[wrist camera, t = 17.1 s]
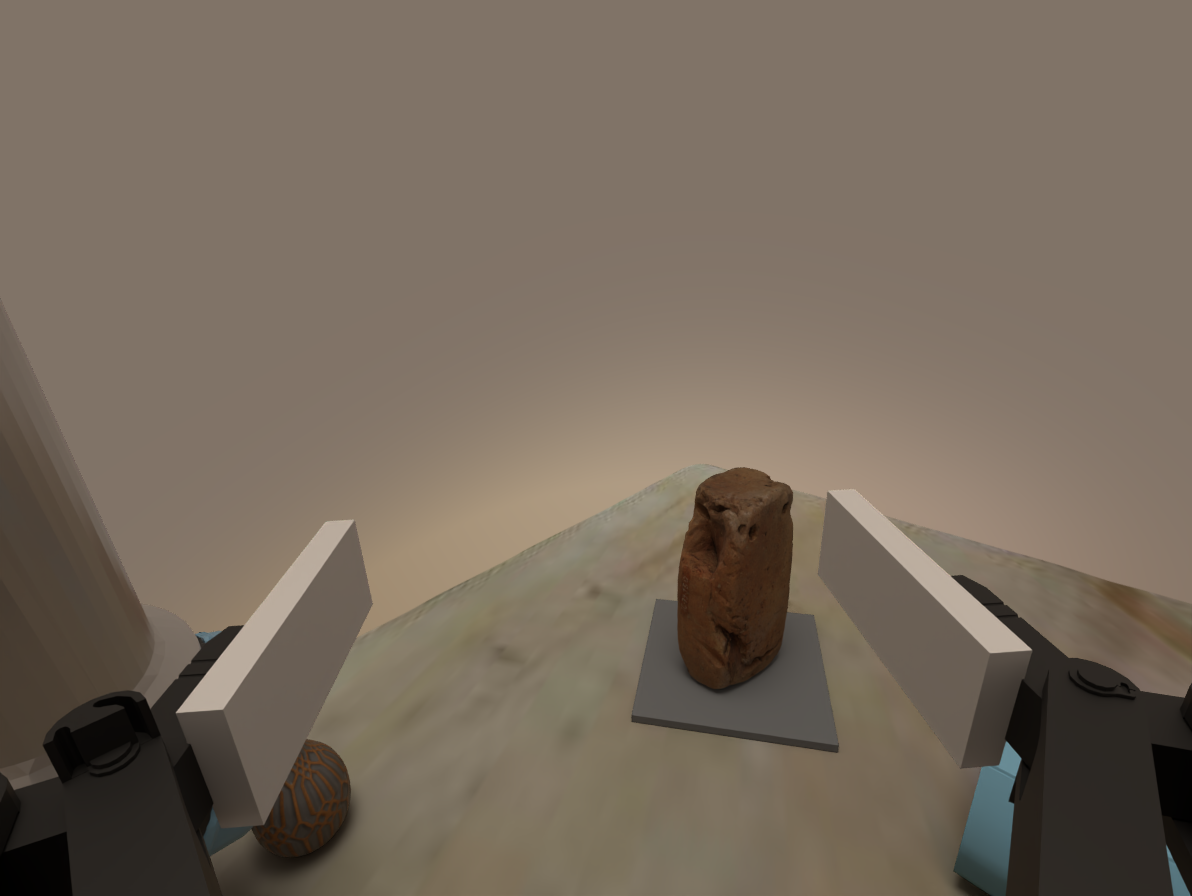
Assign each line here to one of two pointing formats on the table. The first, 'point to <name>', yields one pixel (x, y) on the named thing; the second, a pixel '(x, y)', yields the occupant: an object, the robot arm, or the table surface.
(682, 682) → the mat
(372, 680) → the table surface
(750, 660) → the block
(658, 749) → the table surface
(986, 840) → the teapot
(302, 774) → the vase
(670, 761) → the table surface
